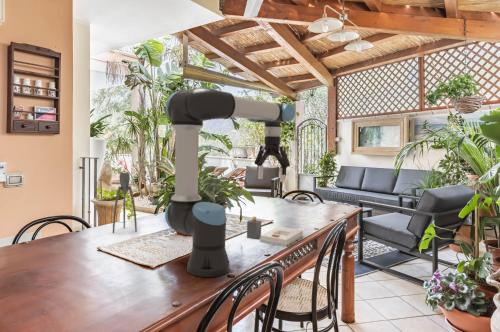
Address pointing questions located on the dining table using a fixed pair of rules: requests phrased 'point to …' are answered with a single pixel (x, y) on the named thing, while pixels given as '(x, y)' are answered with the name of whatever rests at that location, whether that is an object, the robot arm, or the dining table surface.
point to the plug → (253, 228)
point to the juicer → (124, 188)
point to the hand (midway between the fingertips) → (271, 180)
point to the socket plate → (281, 236)
